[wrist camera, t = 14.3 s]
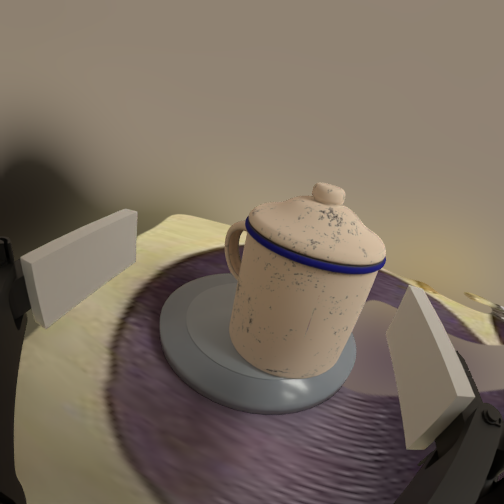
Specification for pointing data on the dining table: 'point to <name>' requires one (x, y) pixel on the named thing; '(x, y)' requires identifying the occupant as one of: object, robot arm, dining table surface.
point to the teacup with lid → (300, 281)
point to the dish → (234, 354)
